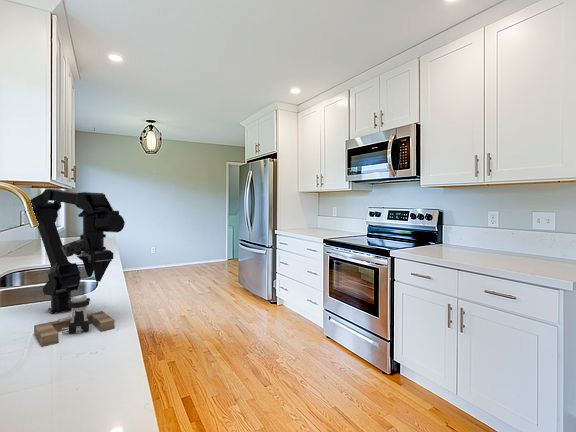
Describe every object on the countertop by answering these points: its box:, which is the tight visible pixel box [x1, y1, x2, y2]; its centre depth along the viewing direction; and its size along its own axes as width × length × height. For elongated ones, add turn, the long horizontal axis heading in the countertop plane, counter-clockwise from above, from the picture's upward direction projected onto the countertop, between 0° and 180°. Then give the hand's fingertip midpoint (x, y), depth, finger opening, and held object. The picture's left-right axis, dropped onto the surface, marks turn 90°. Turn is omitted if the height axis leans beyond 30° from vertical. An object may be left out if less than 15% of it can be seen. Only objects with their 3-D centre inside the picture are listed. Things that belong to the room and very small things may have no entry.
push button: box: [61, 294, 91, 335], centre depth 89 cm, size 7×5×10 cm
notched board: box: [33, 310, 116, 347], centre depth 89 cm, size 11×17×3 cm, turn 137°
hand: (93, 279), depth 102 cm, fingers open, 9 cm apart
